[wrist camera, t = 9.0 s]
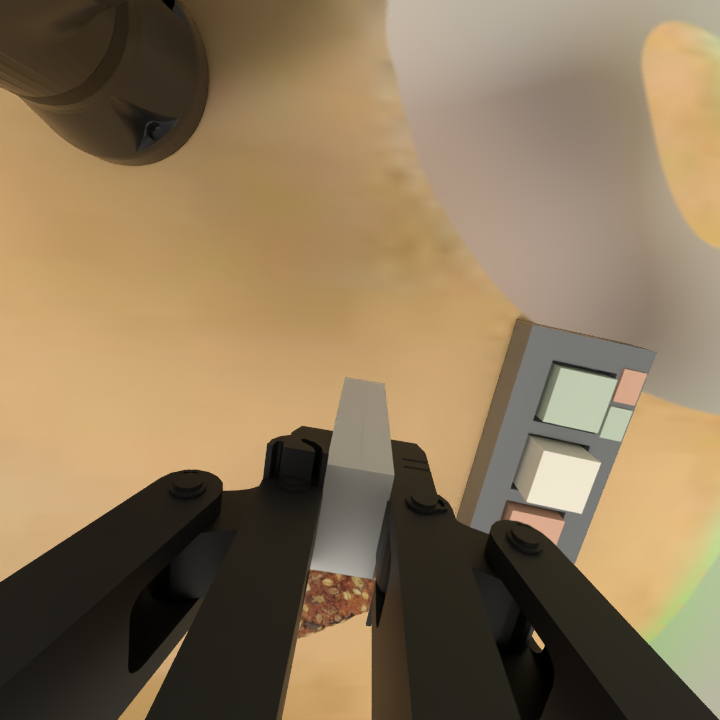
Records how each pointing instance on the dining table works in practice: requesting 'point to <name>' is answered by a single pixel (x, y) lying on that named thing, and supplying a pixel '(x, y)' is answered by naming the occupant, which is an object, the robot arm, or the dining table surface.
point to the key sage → (575, 397)
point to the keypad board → (518, 419)
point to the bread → (333, 600)
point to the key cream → (555, 474)
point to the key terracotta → (535, 518)
